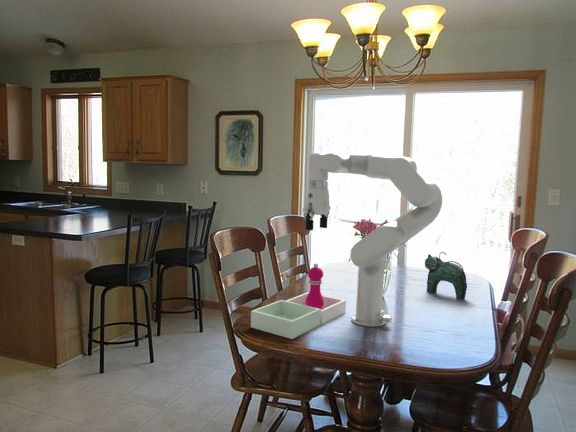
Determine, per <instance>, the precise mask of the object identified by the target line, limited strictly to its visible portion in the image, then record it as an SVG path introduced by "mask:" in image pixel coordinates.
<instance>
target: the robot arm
mask: <svg viewBox="0 0 576 432" xmlns="http://www.w3.org/2000/svg"><path fill="white" fill-rule="evenodd" d="M308 160H309V161H308V162H309V163H308V183H307V184H308V186H307V187H308V189H307V194H306V203H305V206H304V208H303V209H302V211H303V216H304V220H305V230H306V231H314V217H315V215H316V216H319V215H320V217H319V228H320V229H321V228H322V229H327V228H328V218H329V214H330V210H331V205H330V193H329V188H328V187H329V185H328V184H329V173H331V174H352V175H353V174H354V175H362V176H365V177H368V178H371V179H380V180H389V181H391V183H392V184H393V185H394V186H395V188H396V189H397V190H398V191H399V192H400V193H401V194H402V196H404V198H405V199H406V201H408V202H409V203H410V204H411V205H412V207H410V209H408V210H406V211H405V212H404V213H403V214H402V215H400V216H398V217H397V218H396V219H394V220H393V221H391V222H387V223H385V224H382V225H380V226H378V227H376V228H375V229H374V230H373V231H371V232H370V233H368V234H367V235H366V236H364V237H363V238H362V239H360V240H358V241H357V242H356V243H355V244H354V245H353V246H352V248H351V250H350V260H351V262H352V263H353V265H354V266H356V267H357V268H358V270H357V271H358V272H357V282H356V284H357V287H356V305H355V306H356V308H355V314H354V315H352V316H351V321H352V322H353V324H356V325H359V326H363V327H371V328H375V327H381V326H382V327H383V326H384V325H385V324H386V323H390V324H391V323H392V316H391V315H388V314H385V310H383V299H384V298H383V297H384V296H383V294H384V278H385V266H386V260H387V256H388V255H389V254H391V253H392V252H394V251H395V250H397V249H399V248H401V247H402V246H404V245H405V243H407V242H408V241H409V240H411V239H412V238H414V237H415V236H416V235H418V234H419V233H420V232H422V231H423V230H425V229H426V228H427V227H428V226H430V225H431V224H432V223H433V222H434V221H435V219H436V218H437V217H438V215H439V214H440V212H441V209H442V205H443V194H442V191H441V189H440V187H439V186H438V185H437V184H436V183H434V182H431V181H425V180H424V178H423V177H422V176H421V175H420V174H419V173H418V172H417V171H418V167H417V164H416V162H415V160H414V159H412V158H410V157H407V156H396V155H382V154H369V155H366V154H365V155H364V154H351V153H342V152H341V153H340V152H329V153H324V152H323V153H321V152H318V153H317V152H315V153H310V155H309V157H308Z"/></svg>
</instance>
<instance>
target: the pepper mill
mask: <svg viewBox="0 0 576 432" xmlns="http://www.w3.org/2000/svg"><path fill="white" fill-rule="evenodd" d="M307 272H308V273H307V277H308V278H309V279H308V284H309V291H308V292H309V294H308V296H307V298H306V302H305V303H306V306H310V307H314V308H318V309H321V310H322V309H323V308H322V306H323V305H324V300H323V297H322V295H323V294H322V292H321V285H322V284H323V283H322V282H323V280H322V278H323V277H324V271H323V270H322V268H320V267H319V264H318V263H314V264H313V267H311V268H309V270H308V271H307Z"/></svg>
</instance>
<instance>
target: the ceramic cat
mask: <svg viewBox="0 0 576 432" xmlns="http://www.w3.org/2000/svg"><path fill="white" fill-rule="evenodd" d="M442 254H444V255H445V256H447V253H446V252H444V251H441V252H440V253H439V257H438V256H432V255H431V254H430V253H429V254H428V256H427V258H425V259H424V267H425V268H426V269H427V270H428V274H427V280H426V292H427V293H428V294H429V293H430V294H435V293H437V291H438V285H439V284H440V283H441V282H448V283H450V284H452V285H453V288H454V291H455V299H456V300H458V299H459V300H458V301H464V300H465V299H466V294H467V290H468V289H467V288H468V283H467V276H466V273H465V270H464V267H463V266H462V265H461V264H460V263H459V262H457V261H452V260H449V261H443V260H442V259H441V255H442ZM463 299H464V300H463Z"/></svg>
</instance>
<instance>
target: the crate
mask: <svg viewBox="0 0 576 432" xmlns="http://www.w3.org/2000/svg"><path fill="white" fill-rule="evenodd" d="M308 294H309V291H307V292H305V293H302V294H299V295H297V296H294V297H291V298H289V299H286V300H285V301H288V302H293V303H297V304H301V305H306V303H305V302H306V298H307V296H308ZM321 295H322V297H323V300H324V305H323V306H322V308H321V309H322V310H321V323H320V325H323V324H325V323H328V322H330V321H332V320H334V319H335V318H337V317H340V316H341V315H343V314H345V313H346V309H347V308H346V307H347V306H346V305H347V300H346V299H342V298H337V297H333V296H328V295H327V296H326V295H323V294H321Z"/></svg>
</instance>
